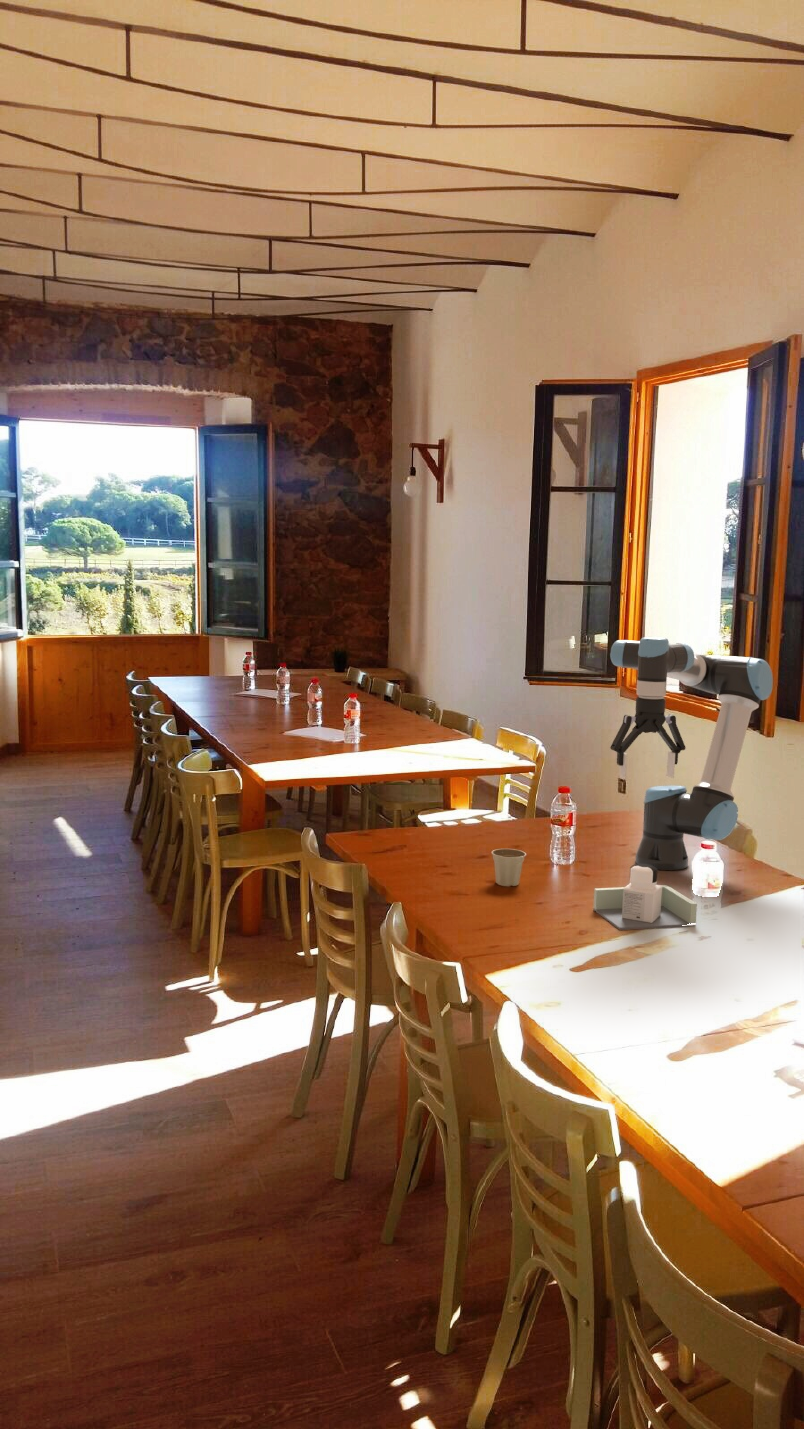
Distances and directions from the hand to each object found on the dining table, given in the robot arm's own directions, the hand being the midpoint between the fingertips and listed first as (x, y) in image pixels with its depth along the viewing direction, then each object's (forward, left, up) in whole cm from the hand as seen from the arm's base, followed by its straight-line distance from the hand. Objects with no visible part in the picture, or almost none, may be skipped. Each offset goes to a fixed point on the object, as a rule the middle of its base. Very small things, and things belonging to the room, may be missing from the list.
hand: (646, 777), depth 300 cm
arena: (+8, +19, -32) cm, 38 cm away
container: (+9, +20, -31) cm, 38 cm away
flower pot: (+32, -15, -32) cm, 48 cm away
